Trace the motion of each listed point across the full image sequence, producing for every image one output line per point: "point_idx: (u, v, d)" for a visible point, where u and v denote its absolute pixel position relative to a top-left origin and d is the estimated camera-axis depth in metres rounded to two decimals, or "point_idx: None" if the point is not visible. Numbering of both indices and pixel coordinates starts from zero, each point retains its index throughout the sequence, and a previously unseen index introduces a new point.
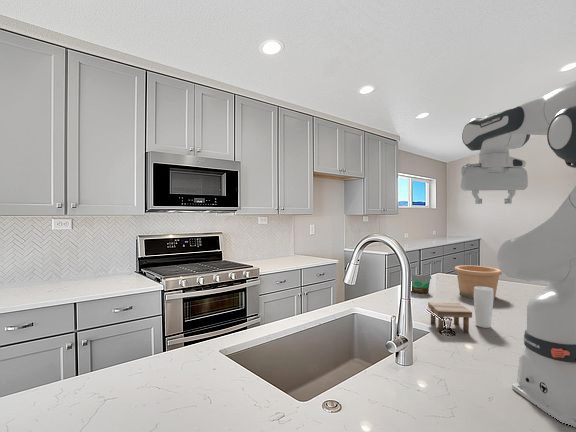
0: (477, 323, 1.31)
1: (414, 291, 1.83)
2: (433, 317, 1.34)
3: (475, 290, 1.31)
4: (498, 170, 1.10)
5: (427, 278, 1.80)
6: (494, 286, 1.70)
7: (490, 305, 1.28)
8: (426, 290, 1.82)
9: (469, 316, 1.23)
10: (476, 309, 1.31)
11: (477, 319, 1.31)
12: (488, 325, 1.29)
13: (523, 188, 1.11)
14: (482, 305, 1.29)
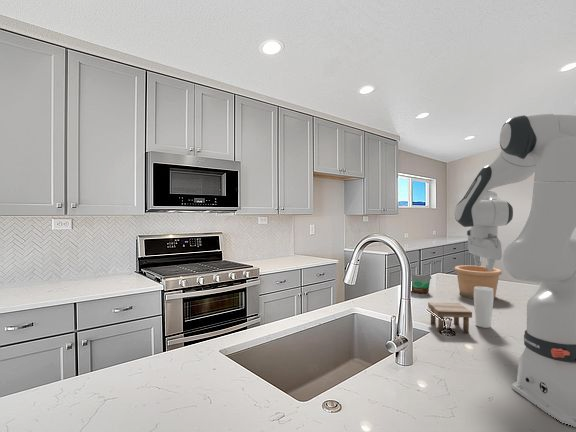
0: (477, 323, 1.31)
1: (414, 291, 1.83)
2: (433, 317, 1.34)
3: (475, 290, 1.31)
4: None
5: (427, 278, 1.80)
6: (494, 286, 1.70)
7: (490, 305, 1.28)
8: (426, 290, 1.82)
9: (469, 316, 1.23)
10: (476, 309, 1.31)
11: (477, 319, 1.31)
12: (488, 325, 1.29)
13: None
14: (482, 305, 1.29)
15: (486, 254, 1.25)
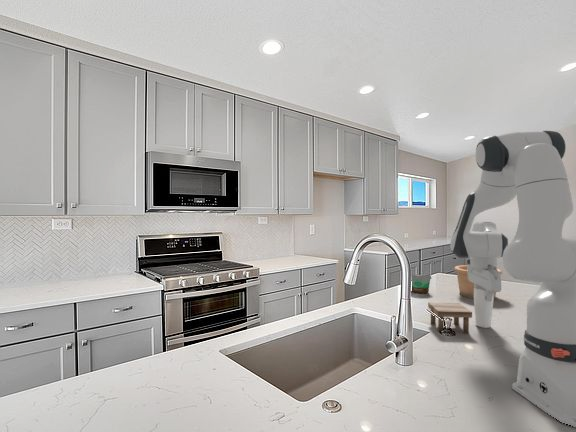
0: (477, 323, 1.31)
1: (414, 291, 1.83)
2: (433, 317, 1.34)
3: (475, 290, 1.31)
4: None
5: (427, 278, 1.80)
6: None
7: (490, 305, 1.28)
8: (426, 290, 1.82)
9: (469, 316, 1.23)
10: (476, 309, 1.31)
11: (477, 319, 1.31)
12: (488, 325, 1.29)
13: None
14: (482, 305, 1.29)
15: (485, 285, 1.26)
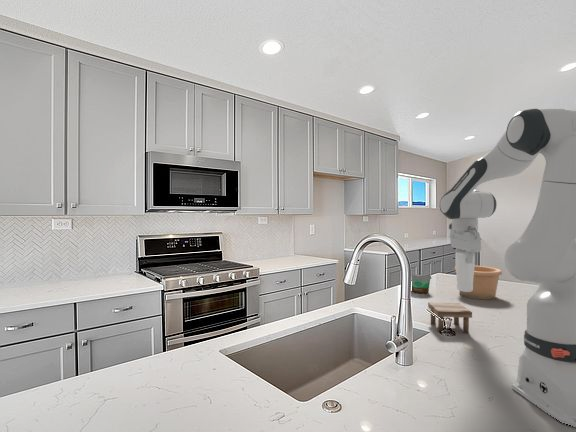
0: (459, 287, 1.29)
1: (414, 291, 1.83)
2: (433, 317, 1.34)
3: (456, 254, 1.30)
4: None
5: (427, 278, 1.80)
6: (494, 286, 1.70)
7: (471, 268, 1.27)
8: (426, 290, 1.82)
9: (469, 316, 1.23)
10: (457, 273, 1.29)
11: (459, 283, 1.29)
12: (469, 289, 1.27)
13: None
14: (463, 268, 1.27)
15: (466, 246, 1.24)
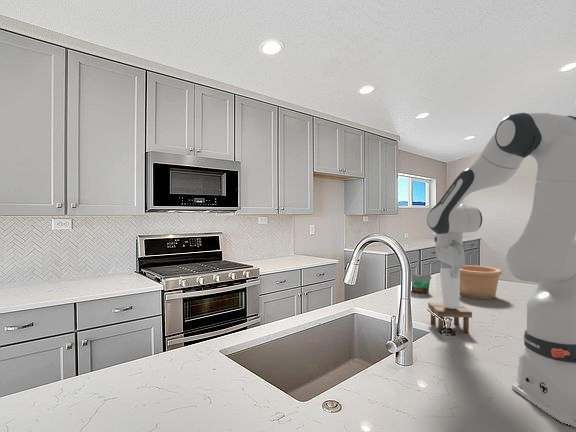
0: (445, 304, 1.27)
1: (414, 291, 1.83)
2: (433, 317, 1.34)
3: (441, 270, 1.29)
4: None
5: (427, 278, 1.80)
6: (494, 286, 1.70)
7: (456, 284, 1.25)
8: (426, 290, 1.82)
9: (469, 316, 1.23)
10: (443, 289, 1.27)
11: (445, 300, 1.27)
12: (456, 305, 1.25)
13: None
14: (449, 284, 1.26)
15: (450, 260, 1.24)
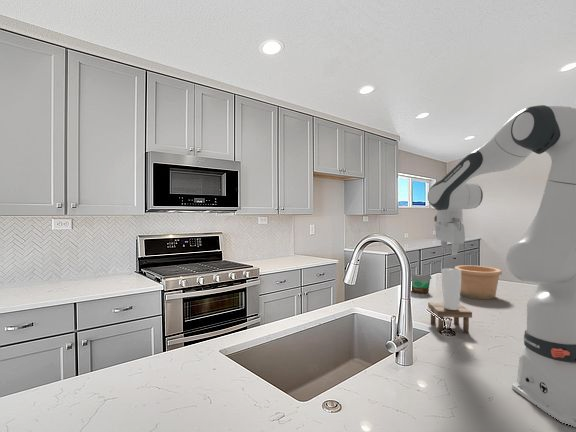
0: (445, 305, 1.26)
1: (414, 291, 1.83)
2: (433, 317, 1.34)
3: (443, 271, 1.27)
4: None
5: (427, 278, 1.80)
6: (494, 286, 1.70)
7: (458, 286, 1.24)
8: (426, 290, 1.82)
9: (469, 316, 1.23)
10: (444, 291, 1.27)
11: (445, 301, 1.26)
12: (456, 307, 1.25)
13: None
14: (450, 286, 1.25)
15: (450, 238, 1.24)
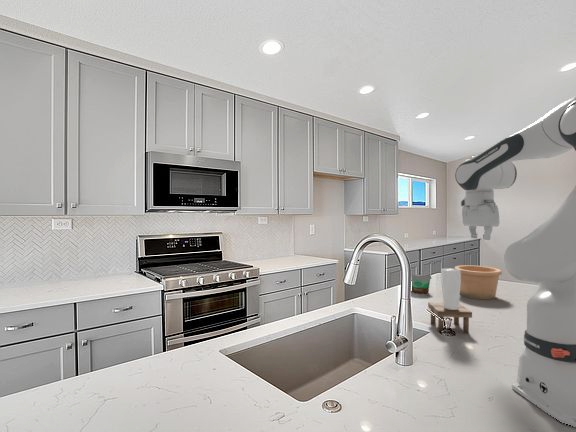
0: (445, 306, 1.26)
1: (414, 291, 1.83)
2: (433, 317, 1.34)
3: (442, 271, 1.27)
4: None
5: (427, 278, 1.80)
6: (494, 286, 1.70)
7: (457, 286, 1.24)
8: (426, 290, 1.82)
9: (469, 316, 1.23)
10: (443, 291, 1.27)
11: (445, 301, 1.26)
12: (456, 307, 1.25)
13: None
14: (449, 286, 1.25)
15: (482, 221, 1.14)
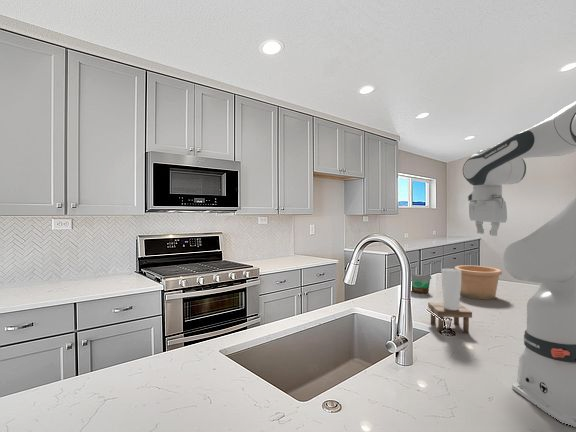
0: (445, 306, 1.26)
1: (414, 291, 1.83)
2: (433, 317, 1.34)
3: (443, 272, 1.27)
4: None
5: (427, 278, 1.81)
6: (494, 286, 1.70)
7: (458, 287, 1.24)
8: (426, 290, 1.82)
9: (469, 316, 1.23)
10: (444, 291, 1.26)
11: (445, 302, 1.26)
12: (456, 308, 1.24)
13: None
14: (450, 286, 1.24)
15: (489, 217, 1.13)
